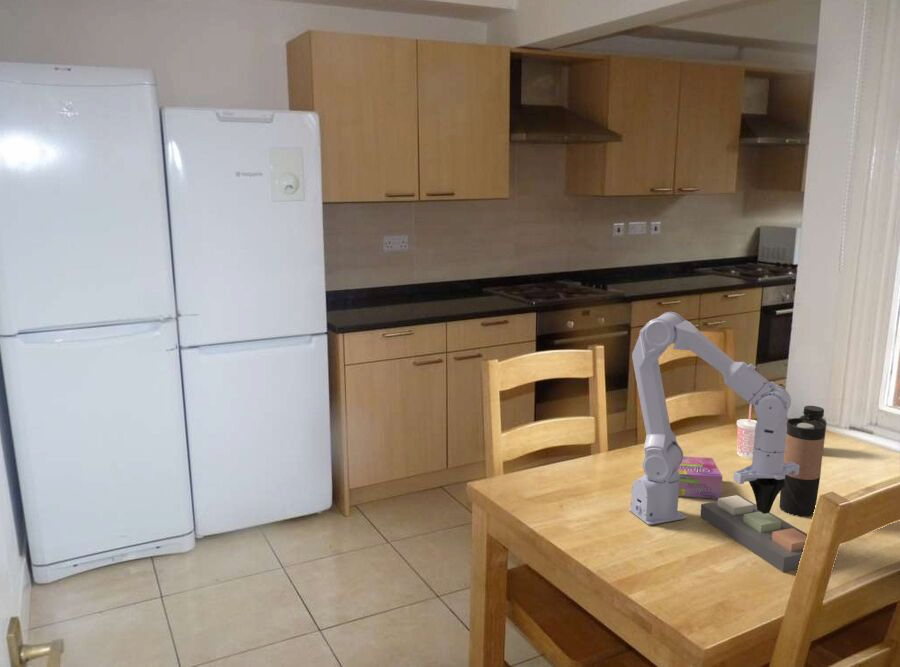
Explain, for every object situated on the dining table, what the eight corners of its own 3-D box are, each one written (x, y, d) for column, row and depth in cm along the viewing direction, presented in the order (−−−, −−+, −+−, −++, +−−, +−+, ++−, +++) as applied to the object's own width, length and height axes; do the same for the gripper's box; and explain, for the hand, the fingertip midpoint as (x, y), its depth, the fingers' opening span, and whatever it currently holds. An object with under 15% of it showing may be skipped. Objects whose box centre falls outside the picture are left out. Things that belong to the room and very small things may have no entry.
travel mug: (794, 519, 158) (803, 430, 153) (770, 504, 165) (778, 419, 161) (824, 514, 160) (834, 427, 155) (799, 500, 167) (807, 416, 163)
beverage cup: (730, 455, 194) (734, 404, 191) (740, 449, 198) (744, 399, 195) (752, 461, 190) (757, 409, 187) (762, 455, 194) (767, 404, 191)
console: (782, 572, 137) (784, 557, 136) (700, 516, 159) (701, 504, 158) (828, 562, 140) (830, 547, 140) (741, 509, 162) (743, 496, 162)
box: (712, 456, 177) (722, 476, 166) (711, 478, 179) (720, 499, 167) (668, 454, 179) (675, 473, 168) (667, 476, 180) (673, 496, 169)
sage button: (760, 534, 146) (761, 525, 145) (743, 523, 150) (743, 514, 150) (780, 530, 147) (781, 521, 147) (762, 519, 152) (763, 510, 152)
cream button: (733, 517, 153) (733, 508, 153) (717, 507, 158) (717, 498, 157) (752, 513, 155) (753, 504, 154) (736, 503, 159) (737, 495, 159)
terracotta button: (790, 553, 138) (791, 543, 138) (771, 541, 143) (772, 531, 143) (811, 549, 140) (812, 539, 140) (791, 537, 145) (792, 527, 144)
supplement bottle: (797, 453, 195) (801, 410, 192) (793, 445, 201) (797, 403, 198) (825, 456, 193) (830, 413, 190) (820, 447, 199) (825, 405, 196)
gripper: (753, 459, 139) (747, 525, 142) (813, 450, 144) (806, 514, 147) (728, 446, 146) (723, 510, 149) (786, 438, 150) (780, 499, 153)
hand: (763, 511), depth 148 cm, fingers closed
